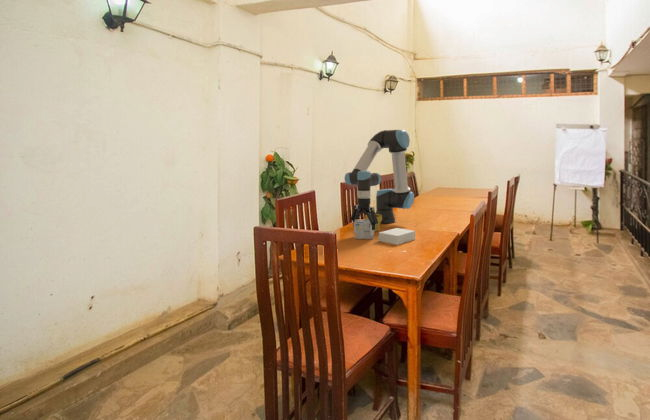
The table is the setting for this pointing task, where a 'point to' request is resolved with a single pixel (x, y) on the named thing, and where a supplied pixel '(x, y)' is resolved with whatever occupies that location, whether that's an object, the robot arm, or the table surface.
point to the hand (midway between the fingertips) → (363, 233)
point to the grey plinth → (396, 236)
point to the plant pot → (379, 218)
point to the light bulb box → (362, 229)
